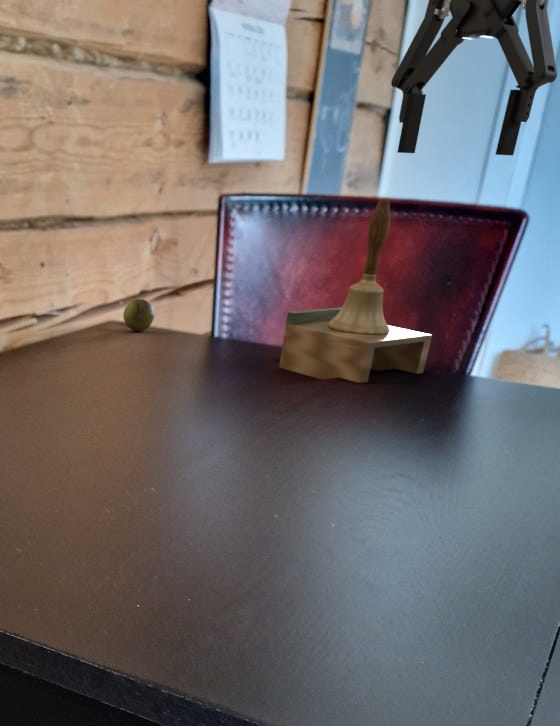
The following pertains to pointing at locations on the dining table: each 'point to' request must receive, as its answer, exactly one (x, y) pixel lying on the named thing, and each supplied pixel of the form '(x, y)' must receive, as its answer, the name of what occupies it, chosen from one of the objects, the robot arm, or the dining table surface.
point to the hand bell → (367, 284)
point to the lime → (138, 315)
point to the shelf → (347, 348)
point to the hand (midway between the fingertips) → (452, 154)
